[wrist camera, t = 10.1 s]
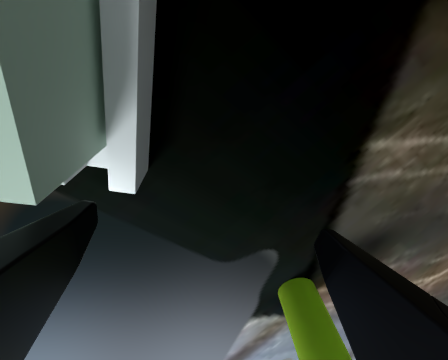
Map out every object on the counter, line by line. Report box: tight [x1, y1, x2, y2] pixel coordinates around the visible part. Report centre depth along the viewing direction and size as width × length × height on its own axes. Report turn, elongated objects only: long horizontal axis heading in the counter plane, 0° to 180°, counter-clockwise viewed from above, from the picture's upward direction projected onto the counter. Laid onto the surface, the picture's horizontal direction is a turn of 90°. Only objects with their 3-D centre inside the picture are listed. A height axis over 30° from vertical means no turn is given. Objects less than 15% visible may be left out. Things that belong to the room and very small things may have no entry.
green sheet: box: [0, 0, 107, 205], centre depth 11 cm, size 2×10×10 cm, turn 167°
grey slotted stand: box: [62, 0, 157, 194], centre depth 15 cm, size 7×16×4 cm, turn 168°
